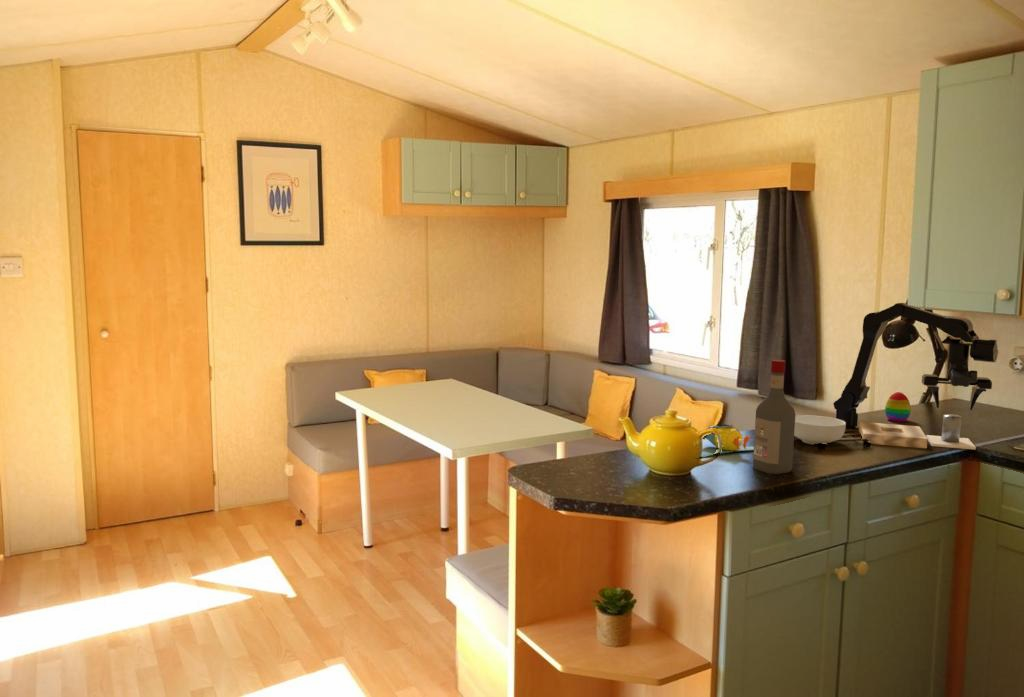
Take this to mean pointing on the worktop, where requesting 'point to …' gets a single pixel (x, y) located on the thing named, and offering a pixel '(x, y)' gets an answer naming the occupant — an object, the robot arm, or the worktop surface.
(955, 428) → the metal part
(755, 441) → the liquor
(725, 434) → the colourful shoe
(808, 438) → the cereal bowl
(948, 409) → the worktop surface
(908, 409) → the decorative egg
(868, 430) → the pocket block
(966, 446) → the ceramic tile
